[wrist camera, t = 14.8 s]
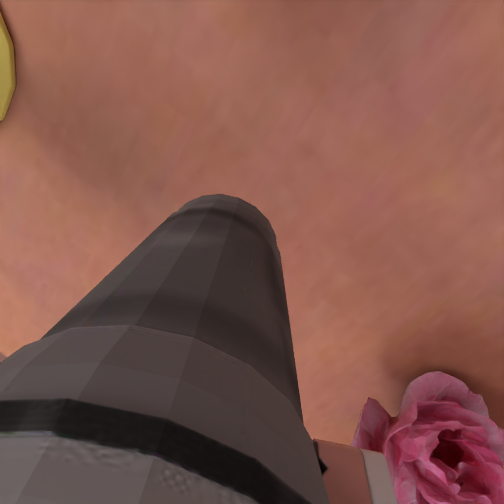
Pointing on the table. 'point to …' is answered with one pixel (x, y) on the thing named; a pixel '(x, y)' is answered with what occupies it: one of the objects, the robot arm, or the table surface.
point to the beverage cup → (166, 379)
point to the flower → (437, 443)
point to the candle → (6, 69)
